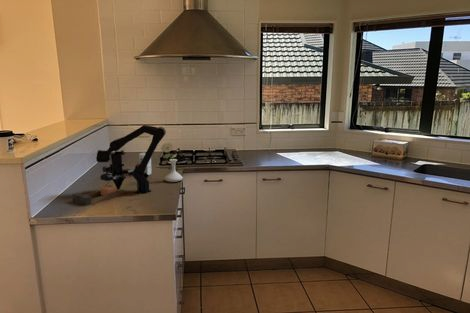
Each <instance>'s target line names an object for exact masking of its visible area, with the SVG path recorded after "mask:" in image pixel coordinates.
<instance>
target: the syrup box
mask: <svg viewBox="0 0 470 313" xmlns="http://www.w3.org/2000/svg"><path fill="white" fill-rule="evenodd" d="M145 154H146V152H141V153H139V154H138V155H139V157H138V158H139V164H140V163H141V162H142V160H143V158H144V156H145ZM146 173H147V174H148V175H149V176H150V175H152V158H151V159H150V161H149V163H148V165H147V169H146Z"/></svg>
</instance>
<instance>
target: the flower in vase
mask: <svg viewBox="0 0 470 313" xmlns="http://www.w3.org/2000/svg"><path fill="white" fill-rule="evenodd" d="M160 149H161V152H164V153H168V154H164V155H163V157H162V158H163V159H164V158H165V159H168V158H169V157H170V159H169V162H170V164H171V171H170V172H169V173H168V174H166V175H165V177H164V180H165V181H166V182H171V183H177V182H180V181H183V176H182V174H180V173H179V172H177V171H176V163H177V162H178V159H176V157H177V155H178V153H175V154H173V155H172V156H171V155H170V152H171V151H173V149H174V143H172V142H164V143H163V144H162V146H161V148H160Z"/></svg>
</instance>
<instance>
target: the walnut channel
mask: <svg viewBox="0 0 470 313" xmlns="http://www.w3.org/2000/svg"><path fill="white" fill-rule="evenodd" d="M100 194H101V190H95V191H92V192H89V193H85V194H84V193H80V192H75V193H72V202H74V203H76V204H80V205H82V206H89V205H92V204H95V203H98V202H102V201H105V200H109V199H113V198H115V197H118V196H122V195H124V194H125V190H124V189H121V190H120V189H119V190H117V192H113V193H110V194H107V195H103V196H102V195H100ZM93 197H94V198H93Z"/></svg>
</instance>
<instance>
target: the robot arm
mask: <svg viewBox="0 0 470 313" xmlns="http://www.w3.org/2000/svg"><path fill="white" fill-rule="evenodd" d="M166 133H167V131H166V129H165V128H164V127H162V126H158V127H157V126H153V125H148V124H143V125H142V126H141V127H138V128H137V129H135V130H133V131H132V132H130V133H129V134H126V135H125V136H122V137H119V138H116V139H114V140H112V141H110V143H109V147H108V149H107V150H102V149H98V150H97V153H96V157H95V158H96V163H109V162H110V161H111V163H110V164H109V166H102V172H103V173H102V174H101V175H100V176H99V177H100V180H101V181H104V182H110V181H113V184H114V186H116V187H117V190H120V189H121V187H122V184H123V183H124V180H125V179H126V178H127V176H125V175H127V174H128V175H129V176H132V177H133V178H134V179H135V181H136V188H137V189H136V190H135V192H136V193H138V194H139V193H140V194H147V193H149V192H152V189H150V181H149V178H150V175H148V174H147V173H146V169H147V165H148V163H149V161H150V159H151V160H152V157H153V154H154V153H155V151H156V149H157V148H158V145H159V143H160V142H161V141H162V139H163V138H164V137H165V136H166ZM143 134H148V135H150V136H152V139H151V142H150V144H149V146H148V148H147V150H146V152H145V153H146V154H145V156H144V158H143V160H142V162H141V163H140V162H139V163H137V164H136V165H135V167H134V169H131V168H124V169H123V167H124V166H125V164H124V163H123V156H124V155H125V154H126V152H125V151H124V150H123V149H121V148H123V147H124V146H125V145H126V144H128V143H129V142H130V141H133V140H134V139H136V138H137V137H139V136H142V135H143ZM120 149H121V150H120ZM119 150H120V151H119Z"/></svg>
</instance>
